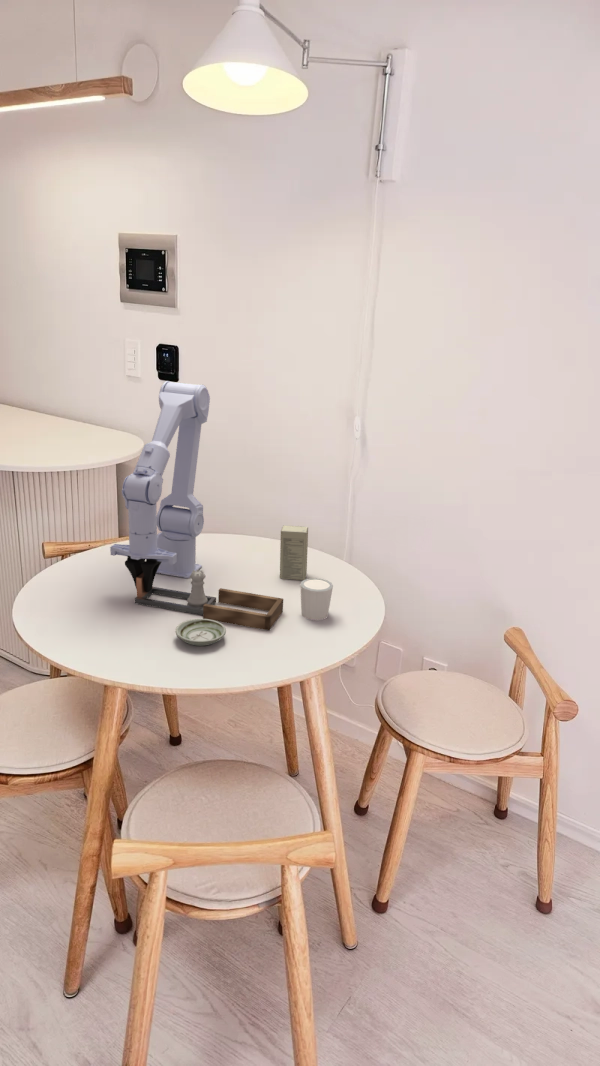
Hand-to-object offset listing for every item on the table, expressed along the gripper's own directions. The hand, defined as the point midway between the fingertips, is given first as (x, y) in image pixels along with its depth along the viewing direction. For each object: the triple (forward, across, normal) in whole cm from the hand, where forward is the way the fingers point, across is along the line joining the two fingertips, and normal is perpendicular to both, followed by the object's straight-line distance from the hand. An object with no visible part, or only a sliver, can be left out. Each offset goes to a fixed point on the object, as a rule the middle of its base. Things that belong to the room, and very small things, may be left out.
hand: (144, 589), depth 151 cm
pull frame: (+2, +7, 0) cm, 8 cm away
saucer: (+2, +19, -13) cm, 23 cm away
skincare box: (+2, +27, +24) cm, 36 cm away
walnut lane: (+2, +23, 0) cm, 23 cm away
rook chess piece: (+2, +12, 0) cm, 12 cm away
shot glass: (+2, +37, +6) cm, 37 cm away
